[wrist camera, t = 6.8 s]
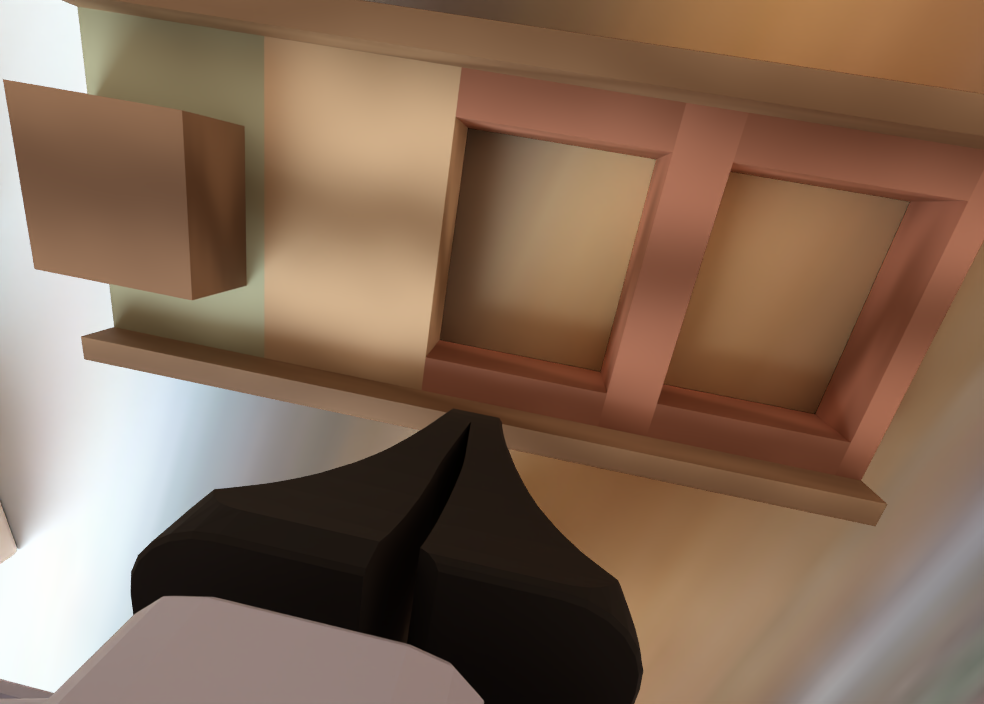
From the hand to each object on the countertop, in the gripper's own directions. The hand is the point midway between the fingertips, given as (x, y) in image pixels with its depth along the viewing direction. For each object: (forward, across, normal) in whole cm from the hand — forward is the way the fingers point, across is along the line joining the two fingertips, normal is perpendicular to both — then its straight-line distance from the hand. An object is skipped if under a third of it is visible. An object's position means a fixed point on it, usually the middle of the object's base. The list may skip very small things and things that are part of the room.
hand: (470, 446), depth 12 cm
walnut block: (+7, +14, -4) cm, 16 cm away
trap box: (+9, +1, -4) cm, 10 cm away
